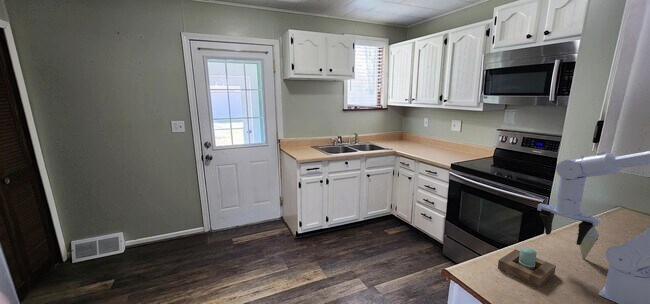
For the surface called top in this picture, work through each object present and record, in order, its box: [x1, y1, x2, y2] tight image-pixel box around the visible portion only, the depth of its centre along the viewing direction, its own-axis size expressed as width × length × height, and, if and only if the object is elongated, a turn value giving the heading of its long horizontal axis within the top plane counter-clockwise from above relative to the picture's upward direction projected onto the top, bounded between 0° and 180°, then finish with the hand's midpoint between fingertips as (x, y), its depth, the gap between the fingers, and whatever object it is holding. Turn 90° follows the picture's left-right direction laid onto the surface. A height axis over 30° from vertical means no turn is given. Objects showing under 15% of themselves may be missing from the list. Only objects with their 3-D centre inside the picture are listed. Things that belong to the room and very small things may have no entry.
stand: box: [497, 248, 557, 289], centre depth 84 cm, size 11×11×3 cm
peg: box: [519, 247, 538, 271], centre depth 83 cm, size 4×4×7 cm
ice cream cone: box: [576, 226, 600, 260], centre depth 88 cm, size 5×5×15 cm
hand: (563, 238), depth 85 cm, fingers open, 7 cm apart
